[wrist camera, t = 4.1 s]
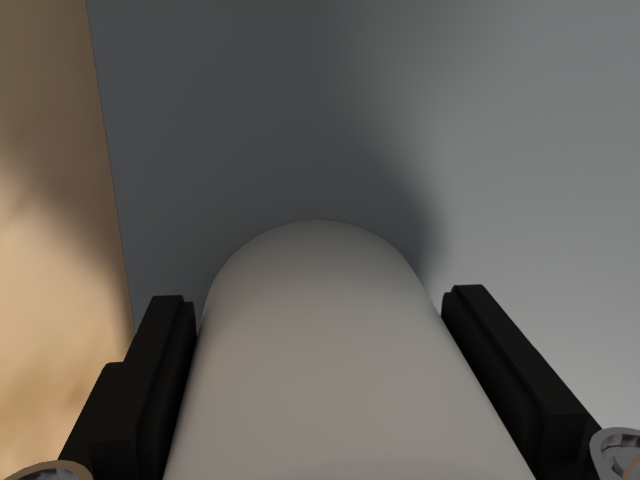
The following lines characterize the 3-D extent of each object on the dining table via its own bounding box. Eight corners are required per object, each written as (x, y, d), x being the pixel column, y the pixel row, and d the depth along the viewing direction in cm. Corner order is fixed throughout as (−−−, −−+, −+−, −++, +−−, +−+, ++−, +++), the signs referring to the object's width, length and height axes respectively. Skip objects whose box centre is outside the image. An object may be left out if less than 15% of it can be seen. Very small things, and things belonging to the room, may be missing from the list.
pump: (194, 222, 11) (92, 473, 5) (432, 216, 11) (625, 440, 5) (218, 480, 13) (172, 852, 7) (410, 468, 14) (518, 811, 8)
